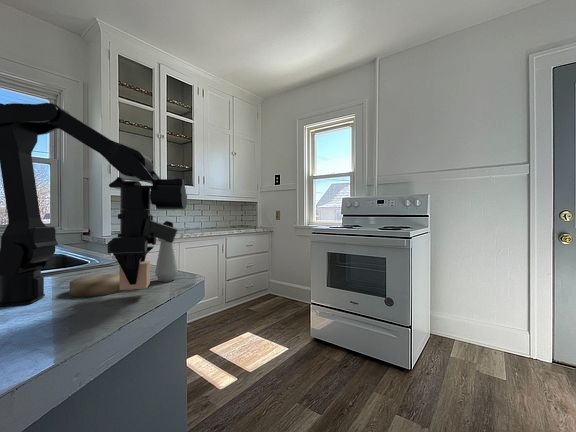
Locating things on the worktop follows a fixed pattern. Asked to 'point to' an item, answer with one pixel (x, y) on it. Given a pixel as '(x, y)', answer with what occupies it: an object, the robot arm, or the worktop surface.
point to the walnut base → (95, 285)
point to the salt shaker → (166, 262)
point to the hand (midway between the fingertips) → (135, 281)
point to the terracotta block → (142, 278)
